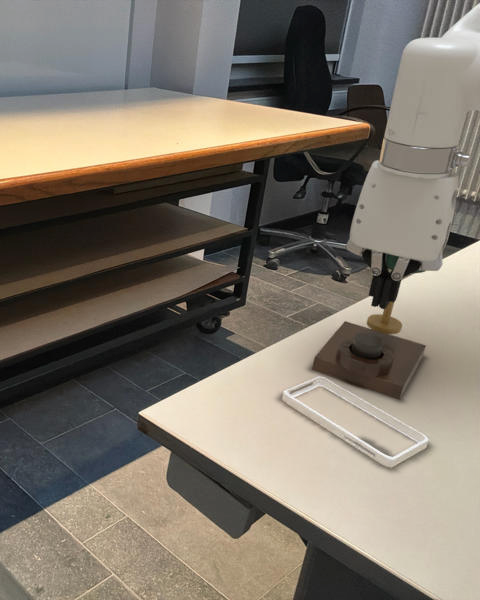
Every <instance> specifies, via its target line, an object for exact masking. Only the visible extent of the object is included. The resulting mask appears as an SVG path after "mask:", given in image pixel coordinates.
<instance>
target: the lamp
mask: <svg viewBox="0 0 480 600" xmlns="http://www.w3.org/2000/svg"><path fill="white" fill-rule="evenodd" d="M398 258H399V256H396V255H391V254H388V258H387V267H388V270H389V271H392V270H393V269H394V267H395V265H396V263H397V260H398ZM425 272H426V271H422V270H417V271H415V272H413V273H412V274H421V273H425ZM394 304H395V302H390V303H389V304H388V306H387V307H386V308H385V309H383V311H382V313H381V314H378V313H376V314H370V315H369V316H368V317H367V320H366V325H367V328H370V329H372V330H374V331H377V332H380V333H384V334H390V335H396V334H399V333H400V332H401V331H402V328H403V323H402V322H401V321H400V320H399V319H397V318H395V317H393V316H392V312H393V309H394V306H395V305H394Z"/></svg>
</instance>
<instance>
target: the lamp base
mask: <svg viewBox="0 0 480 600" xmlns="http://www.w3.org/2000/svg"><path fill="white" fill-rule="evenodd" d="M359 333H368V334H373V335H376V336H378V337H380V338H381V339H382V340H383V341H384V346H383V350H382V354H381V357H380V359H377V360H370V359H364V358H361V357H358V356H356V355H354V354H353V353H351V347H352V343H353V339H354V336H355V335H356V334H359ZM426 347H427V345H426V344H422V343H419V342H416V341H413V340H410V339H407V338H403V337H399V336H396V335H394V334H384V333H380V332H377V331H374V330H372V329H371V328H369V327H366V326H363V325H360V324H356V323H352V322H349V321H346V320H345V321H343V323H342V324H341V325H340V326H339V327H338V329H337V330H336V331H335V332H334V333H333V335H332V336H331V337H330V338H329V339H328V341H327V342H326V343H325V344H324V345H323V346H322V347H321V349H319V351H318V352H317V354H316V355H314V358H313V363H312V367H311V370H312V371H315V372H318V373H319V374H320V373H321V374H323V375H327V376H330V377H332V378H335V379H338V380H340V381H344V382H347V383H349V384H352V385H356V386H358V387H361V388H363V389H367V390H370V391H373V392H375V393H379V394H382V395H385V396H388V397H391V398H394V399H396V400H399V401H400V400H401V398H402V396H403V395H404V393H405V391H406V389H407V387H408V385H409V383H410V382H411V380H412V378H413V376H414V374H415V372H416V370H417V369H418V367H419V365H420V363H421V362H422V359H423V357H424V354H425V351H426Z"/></svg>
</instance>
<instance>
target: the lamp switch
mask: <svg viewBox="0 0 480 600" xmlns="http://www.w3.org/2000/svg"><path fill="white" fill-rule="evenodd" d="M383 346H384V341H383V340H382V339H381V338H380V337H378V336H376V335H373V334H368V333H359V334H356V335H355V336H354V339H353V343H352V347H351V353H353V354H354V355H356V356H358V357H361V358H364V359H370V360H377V359H380V357H381V354H382V350H383Z"/></svg>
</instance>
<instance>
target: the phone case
mask: <svg viewBox="0 0 480 600" xmlns="http://www.w3.org/2000/svg"><path fill="white" fill-rule="evenodd" d="M311 383H312V384H311ZM309 384H311V385H309ZM307 385H308V386H307ZM302 387H303V388H302ZM319 387H322V388H324V389H326V390H328V391H330V392H331V393H333V394H335V395H336V396H338V397H340V398H341V399H343V400H345V401H346V402H348V403H349V404H352V405H353V406H354V407H356V408H358V409H360V410H361V411H364V412H366V414H368V415H370V416H372V417H374V418H375V419H377V420H379V421H380V422H382V423H384V424H385V425H387V426H389V427H391V428H392V429H394V430H395V431H398V432H399V433H401V434H402V435H404V436H406V437H407V438H408V439H409V438H410V439H411V440H413V441H414V442H416V443H415V444H414V445H412V446H410V447H408V448H407V449H404V450H403V451H401V452H399V453H397V454H396V455H394V456H391V455H387V454H385V453H383V452H381V451H380V450H378V449H377V448H375V447H373V446H372V445H371V444H369V443H367V442H366V441H364V440H362V439H361V438H359V437H357V436H356V435H355V434H353V433H352V432H350V431H348V430H347V429H345V428H343V427H342V426H340V425H339V424H337V423H335V422H334V421H332V420H331V419H329V418H328V417H326V416H324V415H322V414H321V413H319V412H318V411H316V410H315V409H313V408H311V406H308V405H307V404H305V403H304V402H302V401H300V400H299V399H297V398H296V397H298V396H300V395H303V394H304V393H307V392H309V391H312V390H314V389H316V388H319ZM300 388H301V389H300ZM297 389H299V390H297ZM295 390H296V391H295ZM293 391H294V392H293ZM281 398H282V399H281V400H282V401H283V402H284V403H285V404H287V405H288V406H289V407H291V408H293V409H295V410H296V411H297V412H299V413H301V414H302V415H303V416H306V417H307V418H308V419H310V420H311V421H313V422H315V424H317V425H319V426H321V427H322V428H324V429H325V430H327V431H329V432H330V433H332V434H333V435H335V436H336V437H338V438H340V439H341V440H343V441H344V442H346V443H347V444H349V445H350V446H352V447H354V448H355V449H357V450H358V451H360V452H362V453H363V454H365V455H366V456H367V457H369V458H371V459H373V460H374V461H375V462H377V463H379V464H380V465H382V466H383V467H386V468H390V469H392V468H394V467H395V466H397V465H399V464H400V463H402V462H404V461H406V460H408V459H409V458H411V457H413V456H414V455H416V454H418V453H420V452H422V451H423V450H425V449H427V446H428V444H429V440H430V439H429V438H428V436H427V435H425V434H423V433H422V432H420V431H419V430H417V429H415V428H414V427H411V426H409V425H408V424H407V423H405V422H403V421H401V420H399V419H398V418H396V417H394V416H393V415H391V414H389V413H388V412H386V411H384V410H382V409H380V408H378V407H377V406H375V405H374V404H372V403H371V402H368V401H366V400H364V399H363V398H361V397H360V396H358V395H356V394H354V393H352V392H351V391H349V390H347V389H346V388H344V387H342V386H340V385H338V384H336V383H335V382H334V381H332V380H330V379H328V378H326V377H324V376H320V375H319V376H316V377H313V378H311V379H309V380H306V381H303V382H301V383H299V384H297V385H295V386H292V387H290V388H287V389H284V390H283V392H282V397H281ZM348 438H349V439H348ZM351 440H352V441H351ZM353 441H354V442H355V443H354V442H353ZM356 443H357V444H356ZM364 448H365V449H364ZM372 453H373V454H372Z"/></svg>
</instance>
